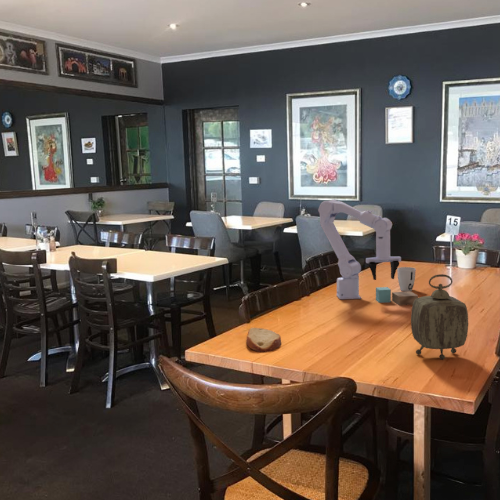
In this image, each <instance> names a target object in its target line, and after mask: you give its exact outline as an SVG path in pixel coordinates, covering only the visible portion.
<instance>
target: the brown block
mask: <svg viewBox="0 0 500 500" xmlns="http://www.w3.org/2000/svg"><path fill="white" fill-rule="evenodd" d="M417 298H419V295H418V294H417V293H414V292H413V291H391V302H393V303H394V304H396V305H398V306H413V303H414V300H415V299H417Z"/></svg>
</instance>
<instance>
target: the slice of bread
mask: <svg viewBox="0 0 500 500" xmlns="http://www.w3.org/2000/svg"><path fill="white" fill-rule="evenodd" d="M245 340H246V341H245V342H246V343H245V344H246V345H247V346H248V348H250V350H252V351H254V352H258V353H267V352H273V351H274V350H275V349H278V348H280V347H281V345H282V337H281V335H280V334H279V333H277V332H275V331H273V330H271V329H267V328H261V327H250V328H249V329H248V331H247V337H246V339H245Z"/></svg>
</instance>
